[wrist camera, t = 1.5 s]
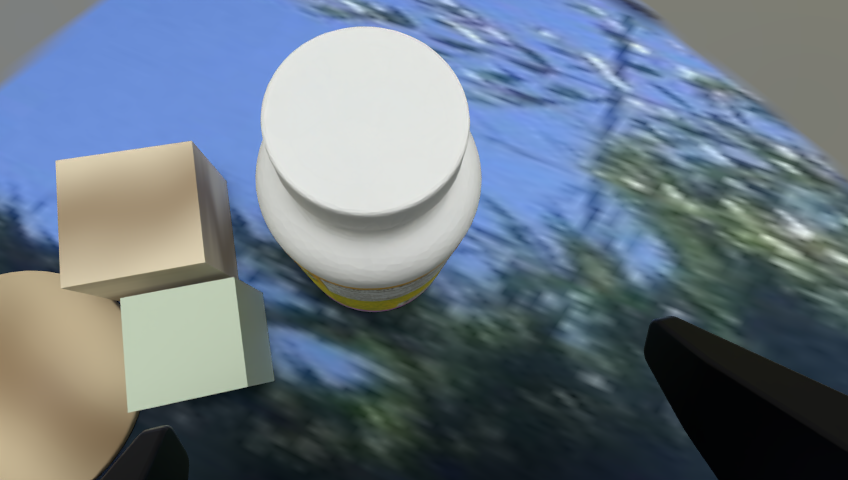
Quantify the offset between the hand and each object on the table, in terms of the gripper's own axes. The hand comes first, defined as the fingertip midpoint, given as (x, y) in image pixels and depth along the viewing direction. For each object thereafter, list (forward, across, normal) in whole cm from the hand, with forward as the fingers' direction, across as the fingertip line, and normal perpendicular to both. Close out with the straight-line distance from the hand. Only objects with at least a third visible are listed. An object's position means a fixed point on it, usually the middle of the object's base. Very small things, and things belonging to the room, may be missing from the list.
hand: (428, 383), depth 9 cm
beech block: (+15, +9, +4) cm, 18 cm away
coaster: (+11, +16, +8) cm, 21 cm away
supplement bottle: (+14, 0, +5) cm, 15 cm away
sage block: (+11, +8, +8) cm, 16 cm away
